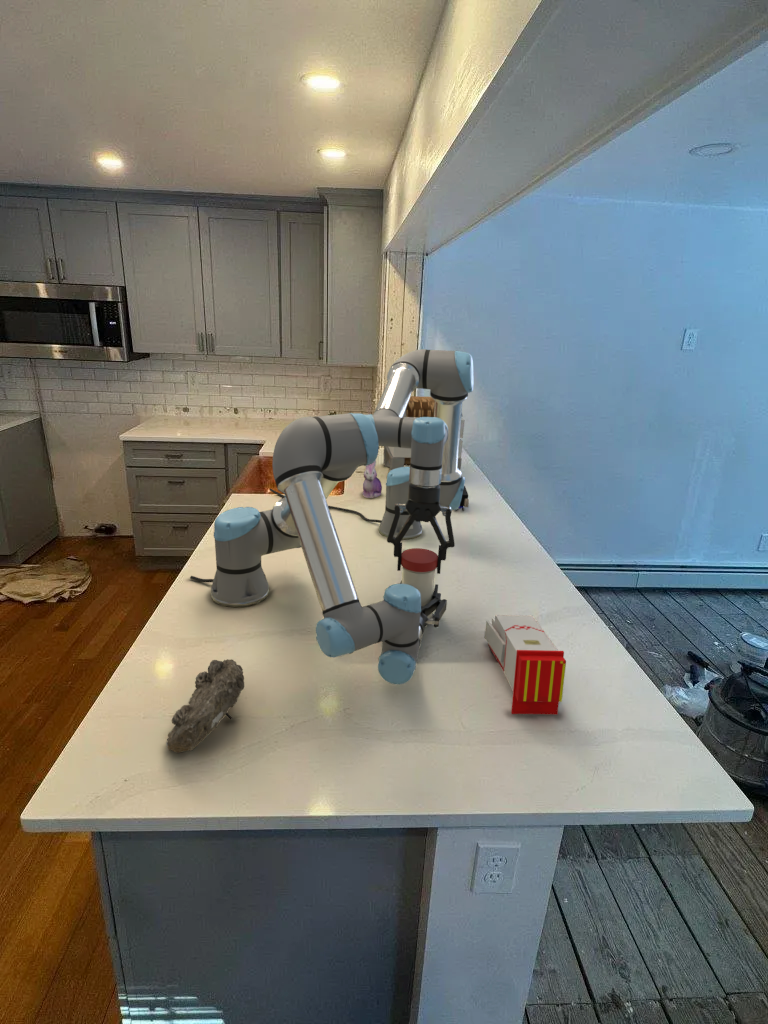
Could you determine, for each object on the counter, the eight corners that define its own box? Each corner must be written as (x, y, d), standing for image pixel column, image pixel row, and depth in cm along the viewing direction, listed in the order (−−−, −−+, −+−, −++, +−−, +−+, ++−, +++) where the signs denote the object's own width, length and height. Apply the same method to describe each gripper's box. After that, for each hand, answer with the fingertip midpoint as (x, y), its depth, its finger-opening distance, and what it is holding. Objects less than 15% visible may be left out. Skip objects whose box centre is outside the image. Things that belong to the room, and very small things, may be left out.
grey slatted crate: (382, 463, 289) (386, 382, 275) (445, 464, 293) (451, 384, 279) (390, 482, 257) (394, 392, 243) (460, 483, 261) (468, 394, 247)
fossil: (192, 660, 117) (244, 628, 112) (224, 691, 120) (276, 661, 115) (142, 746, 98) (202, 712, 93) (182, 779, 101) (242, 748, 96)
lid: (397, 557, 144) (397, 549, 144) (431, 555, 146) (432, 547, 146) (405, 573, 136) (406, 564, 135) (442, 571, 138) (443, 562, 137)
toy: (530, 600, 137) (574, 657, 108) (525, 651, 140) (567, 720, 111) (480, 599, 137) (511, 656, 107) (477, 651, 139) (506, 719, 110)
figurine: (366, 499, 233) (368, 464, 228) (356, 492, 241) (357, 458, 236) (387, 497, 237) (388, 462, 232) (376, 490, 246) (377, 456, 241)
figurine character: (468, 516, 224) (463, 500, 237) (471, 498, 221) (465, 483, 234) (452, 515, 224) (447, 499, 237) (453, 498, 220) (449, 482, 234)
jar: (401, 625, 142) (405, 565, 136) (397, 609, 150) (401, 551, 144) (433, 625, 143) (438, 565, 137) (428, 609, 151) (433, 552, 145)
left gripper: (360, 639, 131) (379, 594, 152) (451, 653, 127) (458, 604, 148) (361, 611, 128) (380, 569, 149) (454, 623, 125) (460, 578, 146)
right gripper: (470, 482, 137) (462, 566, 145) (380, 476, 138) (376, 560, 146) (472, 491, 130) (463, 579, 137) (377, 485, 131) (373, 572, 139)
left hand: (419, 586), depth 149 cm, fingers closed on jar, 8 cm apart
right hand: (418, 569), depth 142 cm, fingers closed on lid, 9 cm apart
